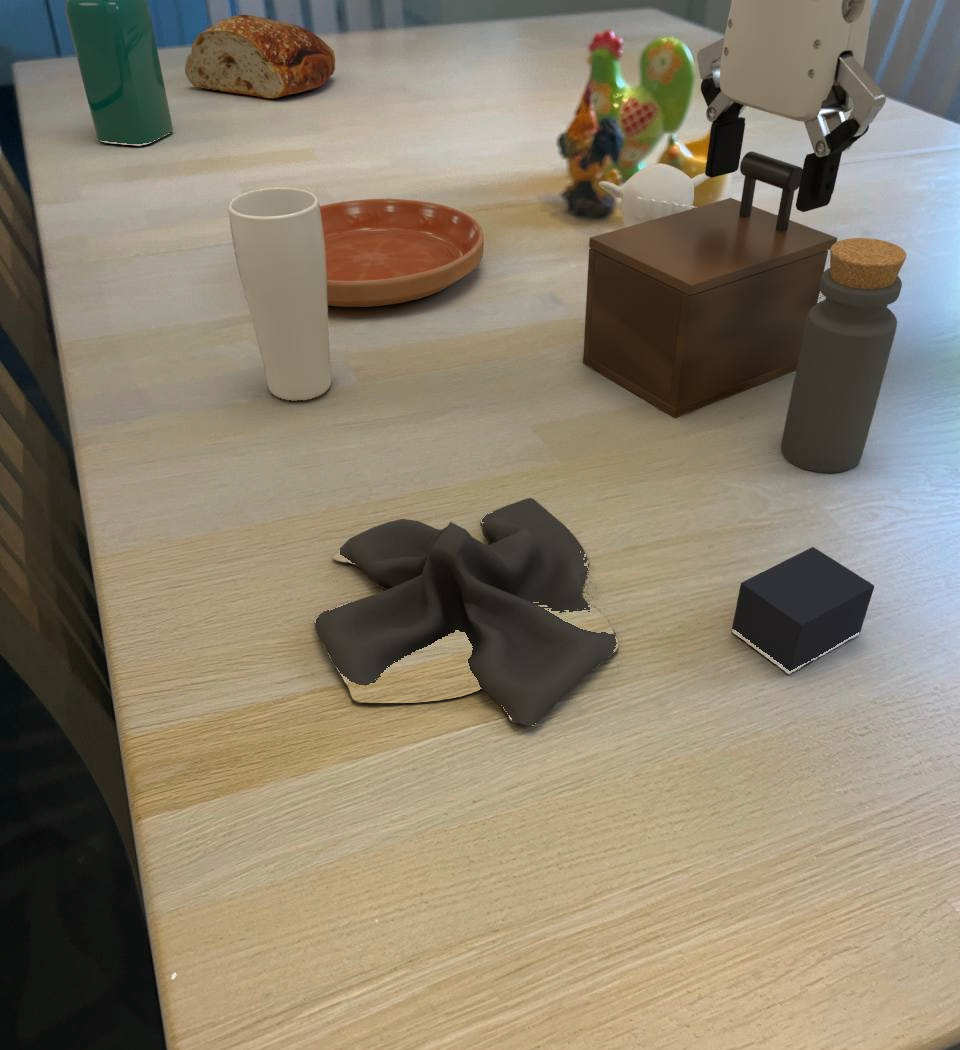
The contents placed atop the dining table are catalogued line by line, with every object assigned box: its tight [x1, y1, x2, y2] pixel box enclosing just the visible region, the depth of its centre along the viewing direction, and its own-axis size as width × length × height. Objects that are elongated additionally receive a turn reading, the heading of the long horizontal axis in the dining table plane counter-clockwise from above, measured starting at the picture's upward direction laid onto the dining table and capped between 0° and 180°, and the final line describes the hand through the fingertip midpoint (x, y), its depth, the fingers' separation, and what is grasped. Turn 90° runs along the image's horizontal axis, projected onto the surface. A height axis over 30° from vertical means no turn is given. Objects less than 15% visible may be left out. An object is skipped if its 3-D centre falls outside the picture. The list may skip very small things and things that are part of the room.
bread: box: [184, 14, 336, 99], centre depth 156 cm, size 20×18×10 cm
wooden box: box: [582, 248, 829, 418], centre depth 83 cm, size 15×12×10 cm
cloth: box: [314, 497, 617, 727], centre depth 61 cm, size 22×19×6 cm
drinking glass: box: [227, 186, 333, 402], centre depth 79 cm, size 7×7×15 cm
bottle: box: [780, 237, 907, 474], centre depth 70 cm, size 6×6×15 cm
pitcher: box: [64, 0, 174, 144], centre depth 132 cm, size 10×8×22 cm
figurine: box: [598, 163, 711, 228], centre depth 104 cm, size 12×8×10 cm
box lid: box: [588, 150, 838, 295], centre depth 78 cm, size 15×12×6 cm
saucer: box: [319, 198, 485, 308], centre depth 101 cm, size 23×23×4 cm
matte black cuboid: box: [731, 546, 875, 671], centre depth 59 cm, size 6×5×4 cm
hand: (765, 190), depth 80 cm, fingers open, 9 cm apart
